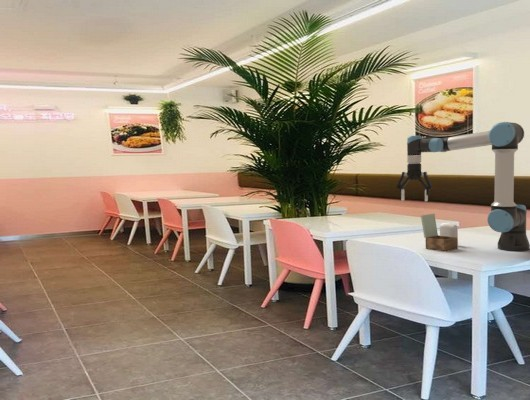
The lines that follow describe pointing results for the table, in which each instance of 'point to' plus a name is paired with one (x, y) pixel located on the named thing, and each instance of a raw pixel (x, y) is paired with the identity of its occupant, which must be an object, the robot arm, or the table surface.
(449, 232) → the photo printer
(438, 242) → the box carcass
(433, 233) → the lid
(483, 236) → the table surface
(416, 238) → the table surface
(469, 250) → the table surface
